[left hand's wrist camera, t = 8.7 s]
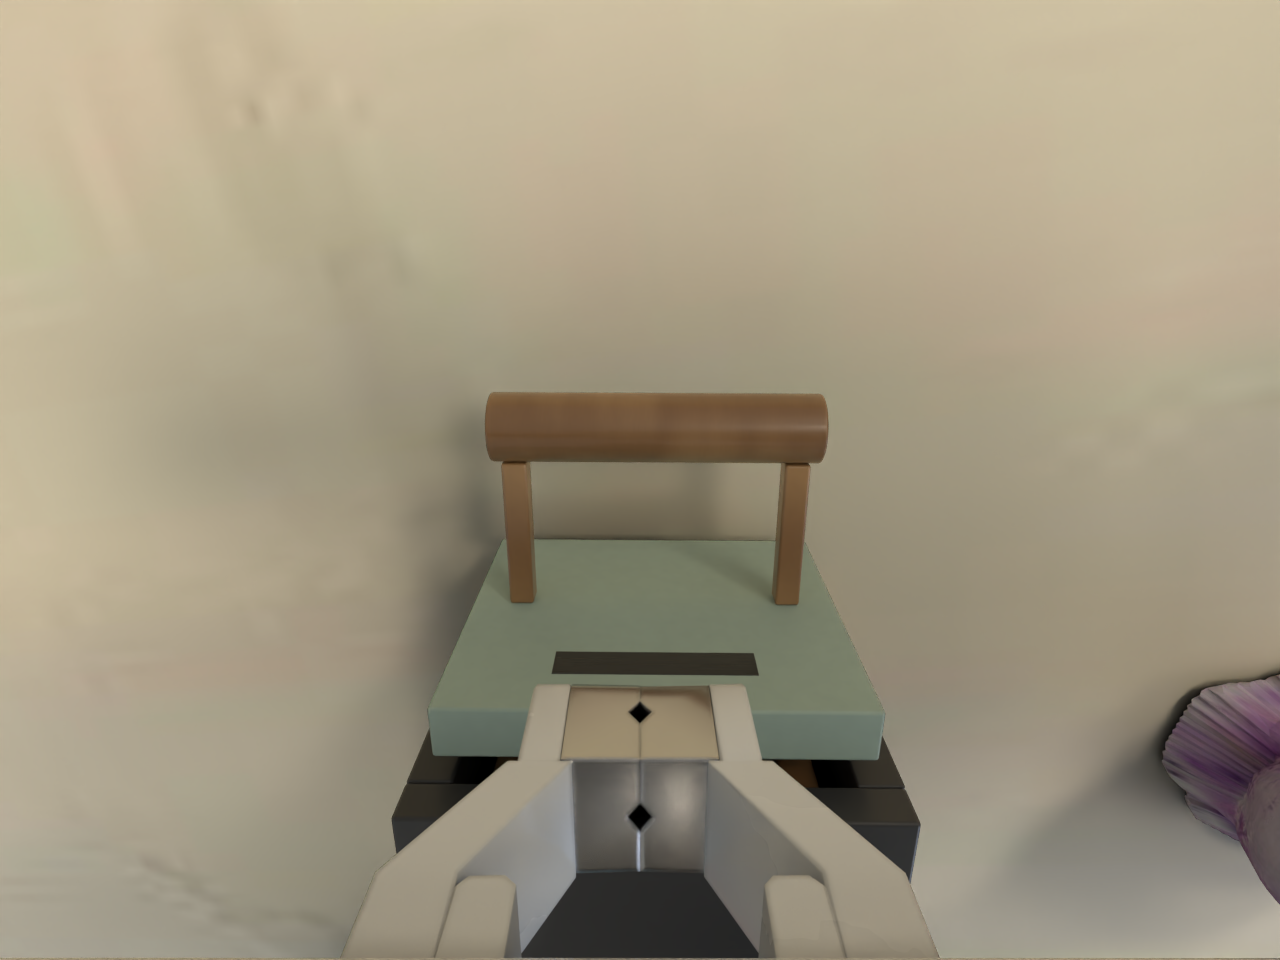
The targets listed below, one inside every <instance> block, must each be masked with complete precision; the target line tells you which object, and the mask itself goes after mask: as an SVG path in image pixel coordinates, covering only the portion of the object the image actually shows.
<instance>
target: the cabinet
mask: <svg viewBox="0 0 1280 960" xmlns="http://www.w3.org/2000/svg"><path fill="white" fill-rule="evenodd" d="M496 760H497V757H490V756H435V755H433V752H432V744H431V736H430V728H429V731H428V733H427V735H426V738H425V740H424V742H423V745H422V747H421V750H420V752H419V754H418V757H417V759H416V761H415V764H414V766H413V768H412V771H411V773H410V775H409V778H408V780H407V785H406V786H405V788H404V790H403V792H402V795H401V797H400V800H399V802H398V804H397V807H396V809H395V811H394V814H393V816H392V826H393V833H394V840H395V846H396V853H398V852H400V851H401V850H402V849H403V848H404V847H405V846H407V845H408V844H409V843H410V842H411V841H413V840H414V839H415V838H416V837H417V836H419V835H420V834H421V833H422V832H423V831H425V830H426V829H427V828H428V827H429V826H430V825H432V824H433V823H434V822H435V821H436V820H438V819H439V818H440V817H441V816H442V815H444V814H445V813H446V812H447V811H448V810H449V809H451V808H452V807H453V806H454V805H455V804H457V803H458V802H459V801H460V800H461V799H463V798H464V797H465V796H466V795H467V794H468V793H470V792H471V791H472V790H473V789H474V788H476V787H477V786H478V785H479V784H480V783H482V782H483V781H484V780H485V779H486V778H488V777H489V776H490V775H491V774H492V773H493V771H494V767H495V764H496ZM811 762H812V765H813V769H814V772H815V775H816V779H817V782H818V786H819V788H805V787H804V788H805V789H807V790H808V791H809V792H810V793H811V794H813V795H814V796H815V797H816V798H817V799H818V800H820V801H821V802H822V803H823V804H824V805H826V806H827V807H828V808H829V809H830V810H831V811H833V812H834V813H835V814H836V815H837V816H839V817H840V818H841V819H842V820H843V821H844V822H846V823H847V824H848V825H849V826H850V827H852V828H853V829H854V830H855V831H856V832H858V833H859V834H860V835H861V836H862V837H863V838H865V839H866V840H867V841H868V842H869V843H871V844H872V845H873V846H874V847H875V848H876V849H878V850H879V851H880V852H881V853H882V854H884V855H885V856H886V857H887V858H888V859H889V860H891V861H892V862H893V863H894V864H895V865H897V866H898V867H899V868H900V869H901V870H902V871H904V872H905V873H906V875H907V878H908V880H909V883H911V877H912V872H913V866H914V860H915V854H916V849H917V843H918V837H919V832H920V825H921V824H920V821H919V819H918V817H917V815H916V812H915V810H914V808H913V806H912V803H911V801H910V799H909V797H908V794H907V792H906V790H905V789H904V788H905V786H904V784H903V781H902V779H901V777H900V775H899V772H898V770H897V768H896V766H895V763H894V761H893V759H892V757H891V754H890V752H889V750H888V748H887V745H886V743H885V741H884V739H883V736H882V739H881V746H880V753H879V758H878V760H811ZM521 957H522V958H758V957H759V953H758V952H757V950H756V949H755V947H754V946H753V945H752V943H751V942H750V940H749V939H748V938H747V936H746V935H745V933H744V932H743V931H742V929H741V928H740V926H739V925H738V924H737V922H736V921H735V919H734V918H733V917H732V915H731V914H730V912H729V911H728V909H727V908H726V907H725V905H724V904H723V902H722V901H721V900H720V898H719V897H718V895H717V894H716V893H715V891H714V890H713V888H712V887H711V886H710V884H709V883H708V881H707V880H706V879H705V877H704V873H675V872H640V871H638V872H604V873H576V878H575V879H574V881H573V882H572V884H571V885H570V886H569V888H568V889H567V891H566V892H565V893H564V895H563V896H562V898H561V899H560V900H559V902H558V903H557V905H556V906H555V907H554V909H553V910H552V912H551V913H550V914H549V916H548V917H547V919H546V920H545V921H544V923H543V924H542V926H541V927H540V928H539V930H538V931H537V932H536V934H535V935H534V937H533V938H532V939H531V941H530V942H529V944H528V945H527V946H526V948H525V949H524V951H523V952H522V953H521Z"/></svg>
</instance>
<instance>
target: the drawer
mask: <svg viewBox="0 0 1280 960" xmlns="http://www.w3.org/2000/svg"><path fill="white" fill-rule="evenodd" d="M485 438H486V446H487V451H488V454H489V457H490V459H491V460H492V461H503V463H502V465H501V469H502V484H503V499H504V514H505V529H506V539H503V540H502V542H501V544H500V547H499V549H498V551H497V553H496V556H495V558H494V560H493V562H492V565H491V567H490V569H489V571H488V574H487V576H486V578H485V580H484V583H483V585H482V587H481V589H480V592H479V594H478V596H477V598H476V601H475V603H474V605H473V607H472V610H471V612H470V614H469V616H468V619H467V621H466V623H465V625H464V628H463V630H462V632H461V634H460V637H459V639H458V641H457V643H456V646H455V648H454V650H453V652H452V655H451V657H450V659H449V662H448V664H447V666H446V668H445V671H444V673H443V675H442V677H441V680H440V682H439V684H438V686H437V689H436V691H435V693H434V695H433V698H432V700H431V702H430V704H429V707H428V709H427V710H428V719H429V727H430V736H431V744H432V752H433V755H435V756H490V757H497V760H496V764H495V767H494V771H493V772H495V771H496V770H497V769H498V768H499V767H501V766H502V765H503V764H504V763H505V762H507V761H518V757H519V752H520V748H521V743H522V739H523V735H524V730H525V726H526V721H527V717H528V712H529V708H530V703H531V699H532V695H533V690H534V688H535V687H536V685H537V684H570V685H572V684H597V685H640V686H707V685H709V684H740V683H742V684H743V685H744V686H745V687H746V691H747V695H748V700H749V704H750V709H751V713H752V717H753V722H754V726H755V731H756V735H757V739H758V744H759V748H760V752H761V757H762V761H774V762H775V763H776V764H777V765H778V766H779V767H781V768H782V769H783V770H784V771H785V772H787V773H788V774H789V775H790V776H791V777H792V778H794V779H795V780H796V781H797V782H798V783H800V784H801V785H802V786H803V787H805V788H819V786H818V782H817V779H816V775H815V772H814V769H813V765H812V762H811V760H878V758H879V753H880V746H881V739H882V732H883V725H884V718H885V712H884V710H883V707H882V705H881V703H880V701H879V699H878V697H877V695H876V693H875V690H874V688H873V686H872V684H871V682H870V680H869V678H868V676H867V673H866V671H865V669H864V667H863V665H862V663H861V661H860V658H859V656H858V654H857V652H856V650H855V648H854V646H853V644H852V641H851V639H850V637H849V635H848V633H847V631H846V629H845V627H844V624H843V622H842V620H841V618H840V616H839V614H838V612H837V610H836V607H835V605H834V603H833V601H832V599H831V597H830V595H829V592H828V590H827V588H826V586H825V584H824V582H823V580H822V578H821V575H820V573H819V571H818V569H817V567H816V565H815V563H814V561H813V558H812V556H811V554H810V552H809V550H808V548H807V546H806V544H805V542H804V537H805V525H806V514H807V503H808V491H809V480H810V469H811V467H810V465H809V463H820V462H821V461H822V460H823V458H824V455H825V452H826V448H827V441H828V411H827V405H826V401H825V398H824V397H823V395H821V394H745V393H545V392H493V393H491V394H490V395H489V398H488V401H487V405H486V413H485ZM530 462H683V463H781V474H780V488H779V501H778V515H777V528H776V541H703V540H560V539H534V528H533V509H532V490H531V471H530Z"/></svg>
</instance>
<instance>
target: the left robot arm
mask: <svg viewBox="0 0 1280 960" xmlns="http://www.w3.org/2000/svg"><path fill="white" fill-rule="evenodd" d="M638 871H640V872H675V873H704V877H705V879H706V880H707V881H708V883H709V884H710V886H711V887H712V888H713V890H714V891H715V893H716V894H717V895H718V897H719V898H720V900H721V901H722V902H723V904H724V905H725V907H726V908H727V909H728V911H729V912H730V914H731V915H732V917H733V918H734V919H735V921H736V922H737V924H738V925H739V926H740V928H741V929H742V931H743V932H744V933H745V935H746V936H747V938H748V939H749V940H750V942H751V943H752V945H753V946H754V947H755V949H756V950H757V952H758V953H759V957H758V958H522V957H521V953H522V952H523V951H524V949H525V948H526V946H527V945H528V944H529V942H530V941H531V939H532V938H533V937H534V935H535V934H536V932H537V931H538V930H539V928H540V927H541V926H542V924H543V923H544V921H545V920H546V919H547V917H548V916H549V914H550V913H551V912H552V910H553V909H554V907H555V906H556V905H557V903H558V902H559V900H560V899H561V898H562V896H563V895H564V893H565V892H566V891H567V889H568V888H569V886H570V885H571V884H572V882H573V881H574V879H575V878H576V873H604V872H638ZM0 960H1280V958H940V957H939V955H938V952H937V950H936V947H935V945H934V942H933V940H932V938H931V935H930V933H929V930H928V928H927V925H926V923H925V920H924V918H923V915H922V913H921V910H920V908H919V905H918V903H917V900H916V898H915V895H914V893H913V890H912V888H911V885H910V883H909V880H908V878H907V875H906V873H905V872H904V871H902V870H901V869H900V868H899V867H898V866H897V865H895V864H894V863H893V862H892V861H891V860H889V859H888V858H887V857H886V856H885V855H884V854H882V853H881V852H880V851H879V850H878V849H876V848H875V847H874V846H873V845H872V844H871V843H869V842H868V841H867V840H866V839H865V838H863V837H862V836H861V835H860V834H859V833H858V832H856V831H855V830H854V829H853V828H852V827H850V826H849V825H848V824H847V823H846V822H844V821H843V820H842V819H841V818H840V817H839V816H837V815H836V814H835V813H834V812H833V811H831V810H830V809H829V808H828V807H827V806H826V805H824V804H823V803H822V802H821V801H820V800H818V799H817V798H816V797H815V796H814V795H813V794H811V793H810V792H809V791H808V790H807V789H805V788H804V787H803V786H802V785H801V784H800V783H798V782H797V781H796V780H795V779H794V778H792V777H791V776H790V775H789V774H788V773H787V772H785V771H784V770H783V769H782V768H781V767H779V766H778V765H777V764H776V763H775V762H774V761H762V757H761V752H760V748H759V744H758V739H757V735H756V731H755V726H754V722H753V717H752V713H751V709H750V704H749V700H748V695H747V691H746V687H745V686H744V685H743V684H742V683H740V684H709V685H707V686H640V685H597V684H572V685H570V684H537V685H536V687H535V688H534V690H533V695H532V699H531V703H530V708H529V712H528V717H527V721H526V726H525V730H524V735H523V739H522V743H521V748H520V752H519V757H518V761H507V762H505V763H504V764H503V765H502V766H501V767H499V768H498V769H497V770H496V771H495V772H493V773H492V774H491V775H490V776H489V777H488V778H486V779H485V780H484V781H483V782H482V783H480V784H479V785H478V786H477V787H476V788H474V789H473V790H472V791H471V792H470V793H468V794H467V795H466V796H465V797H464V798H463V799H461V800H460V801H459V802H458V803H457V804H455V805H454V806H453V807H452V808H451V809H449V810H448V811H447V812H446V813H445V814H444V815H442V816H441V817H440V818H439V819H438V820H436V821H435V822H434V823H433V824H432V825H430V826H429V827H428V828H427V829H426V830H425V831H423V832H422V833H421V834H420V835H419V836H417V837H416V838H415V839H414V840H413V841H411V842H410V843H409V844H408V845H407V846H405V847H404V848H403V849H402V850H401V851H400V852H398V853H397V854H396V855H395V856H394V857H392V858H391V859H390V860H389V861H388V862H386V863H385V864H384V865H383V866H382V867H381V868H379V869H378V870H377V871H376V872H375V874H374V876H373V879H372V881H371V884H370V886H369V888H368V891H367V893H366V896H365V898H364V901H363V903H362V906H361V908H360V911H359V913H358V915H357V918H356V920H355V923H354V925H353V928H352V930H351V933H350V935H349V938H348V940H347V942H346V945H345V947H344V950H343V952H342V955H341V957H340V958H0Z"/></svg>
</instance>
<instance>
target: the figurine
mask: <svg viewBox="0 0 1280 960" xmlns="http://www.w3.org/2000/svg"><path fill="white" fill-rule="evenodd" d="M1191 700H1192V703H1190V704H1189V705H1187V707H1188V709H1187V710H1185V711H1184V715H1183V716H1182V717H1180V722H1178V723H1177V724H1176V728H1175V729H1173V730H1172V734H1171V735H1170V736H1169V739H1168V740H1167V741H1166V743H1165V748H1166V750H1164V751H1162V752H1163V760H1162V763H1163V766H1164V768H1165V770H1166V771H1167V773H1168V774H1169V776H1170V777H1171V778H1172V779H1173V780H1174V781H1175V782H1176V783H1177V784H1178V785H1179V786H1180V787H1181V788H1183V789H1184V790H1186V794H1187V795H1184V796H1185V801H1186V803H1187V805H1188V807H1189V808H1190V810H1191V811H1192V813H1193V815H1194V816H1195V818H1196V819H1199V820H1201V821H1202V822H1203V823H1205V824H1208V825H1210V826H1211V827H1213V828H1215V829H1218V830H1219V831H1221V832H1222V833H1224V834H1227V835H1229V836H1230V837H1232V838H1233V839H1235V840H1238V841H1240V843H1241V845H1242V847H1243V849H1244V851H1245V852H1246V854H1247V856H1248V858H1249V860H1250V862H1251V864H1252V865H1253V867H1254V869H1255V871H1256V873H1257V875H1258V876H1259V878H1260V880H1261V881H1262V883H1263V884H1264V886H1265V887H1266V889H1267V890H1268V891H1269V892H1270V894H1271V895H1272V896H1273V897H1274V898H1275V900H1276V901H1277V902H1278V903H1279V904H1280V674H1279V675H1276V676H1272V677H1269V678H1267V679H1266V680H1256V681H1252V682H1238V683H1226V684H1223V685H1219V686H1214V687H1209V688H1206V689H1204V690H1202V691H1201V693H1200V695H1199V696H1197V697H1195V698H1193V699H1191Z"/></svg>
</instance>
